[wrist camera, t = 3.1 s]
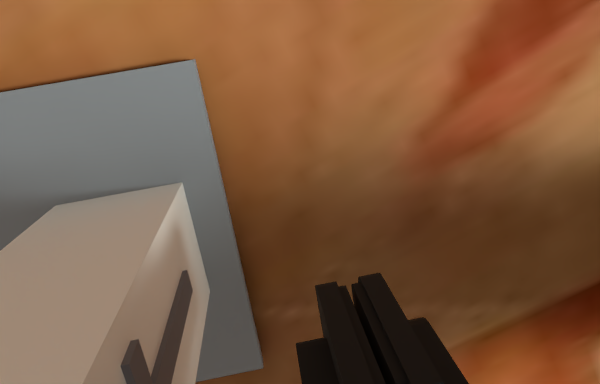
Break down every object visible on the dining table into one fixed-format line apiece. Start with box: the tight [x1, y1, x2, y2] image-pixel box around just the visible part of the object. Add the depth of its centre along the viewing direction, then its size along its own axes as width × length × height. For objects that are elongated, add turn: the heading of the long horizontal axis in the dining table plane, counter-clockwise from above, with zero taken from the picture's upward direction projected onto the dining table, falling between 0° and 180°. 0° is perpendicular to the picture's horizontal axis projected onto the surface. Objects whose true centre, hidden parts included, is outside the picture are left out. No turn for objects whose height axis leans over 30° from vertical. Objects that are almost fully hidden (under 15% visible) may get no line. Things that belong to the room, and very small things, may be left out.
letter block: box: [0, 182, 210, 384], centre depth 13 cm, size 5×5×12 cm
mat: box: [0, 59, 263, 382], centre depth 19 cm, size 18×14×1 cm
